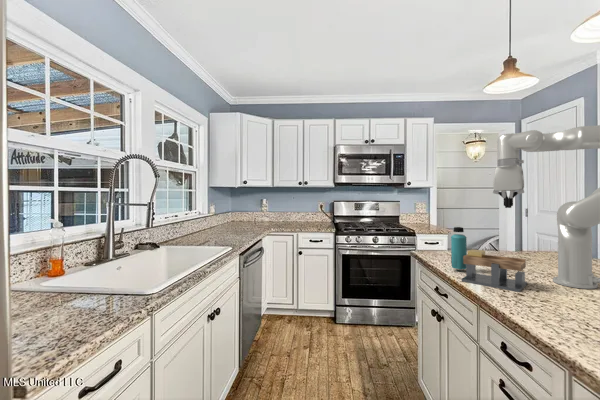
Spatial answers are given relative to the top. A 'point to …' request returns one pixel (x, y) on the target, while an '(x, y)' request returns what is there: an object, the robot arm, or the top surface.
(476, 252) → the brass block
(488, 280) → the beam stand
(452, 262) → the beverage bottle
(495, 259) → the beam
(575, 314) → the top surface
